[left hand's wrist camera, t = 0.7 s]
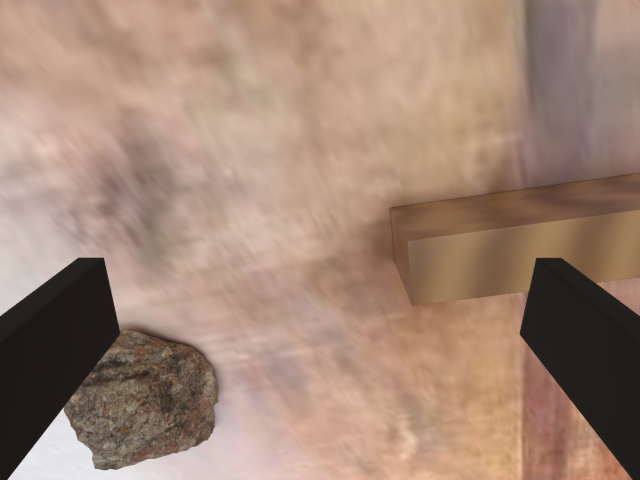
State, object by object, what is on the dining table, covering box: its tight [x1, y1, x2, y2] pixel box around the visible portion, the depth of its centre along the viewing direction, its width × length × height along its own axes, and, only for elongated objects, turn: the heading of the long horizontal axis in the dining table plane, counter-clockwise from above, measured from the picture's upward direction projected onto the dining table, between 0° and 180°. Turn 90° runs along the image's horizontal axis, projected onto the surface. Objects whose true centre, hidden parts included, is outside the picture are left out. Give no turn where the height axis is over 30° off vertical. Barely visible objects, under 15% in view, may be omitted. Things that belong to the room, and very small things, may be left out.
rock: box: [64, 329, 218, 470], centre depth 36 cm, size 14×9×10 cm
